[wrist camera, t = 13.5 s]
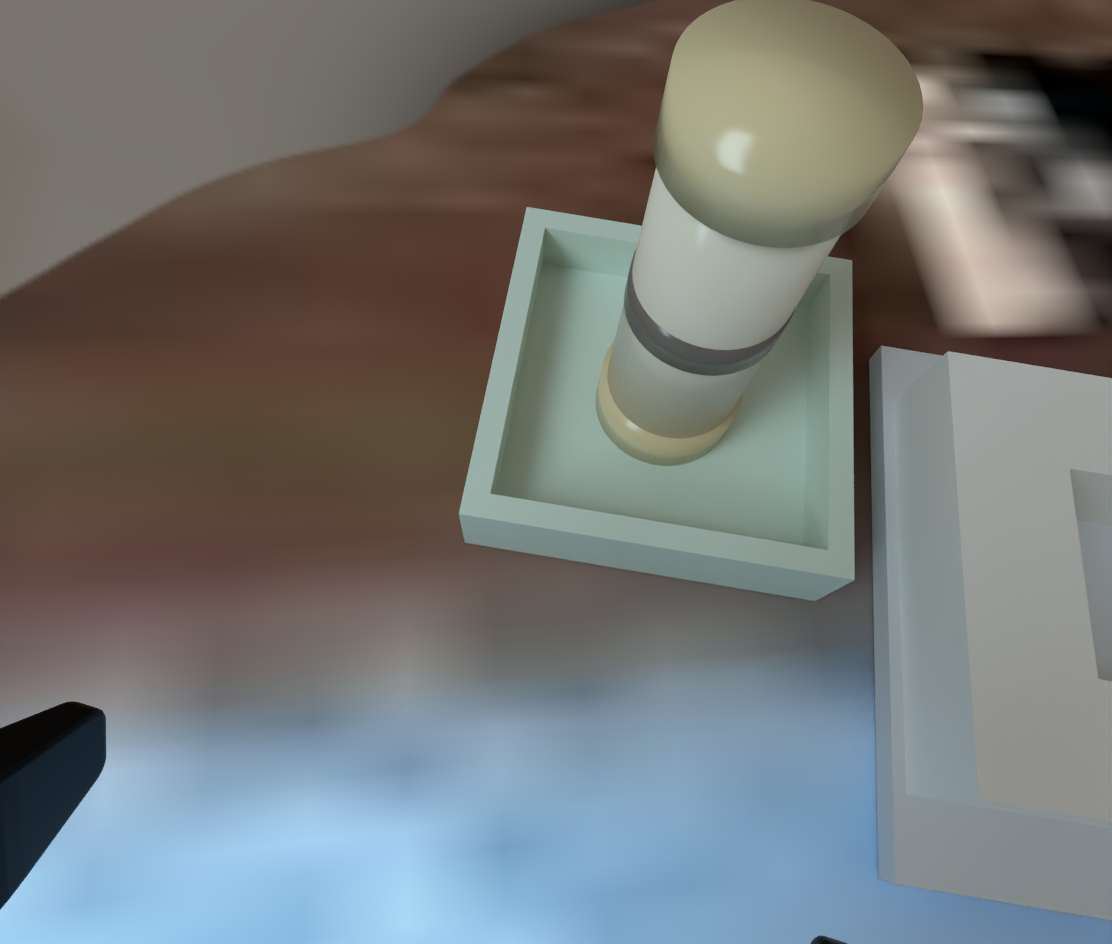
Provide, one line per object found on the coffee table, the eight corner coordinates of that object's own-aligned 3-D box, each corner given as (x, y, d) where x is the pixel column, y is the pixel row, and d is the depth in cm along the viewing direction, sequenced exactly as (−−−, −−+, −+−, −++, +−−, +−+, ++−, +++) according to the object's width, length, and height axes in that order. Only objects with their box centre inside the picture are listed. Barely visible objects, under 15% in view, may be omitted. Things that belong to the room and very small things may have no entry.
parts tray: (815, 601, 24) (854, 579, 21) (465, 542, 24) (458, 514, 21) (819, 309, 29) (852, 260, 26) (525, 260, 29) (526, 206, 26)
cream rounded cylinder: (749, 445, 25) (971, 150, 13) (622, 481, 24) (731, 203, 12) (698, 333, 27) (850, -20, 15) (577, 364, 26) (634, 17, 14)
